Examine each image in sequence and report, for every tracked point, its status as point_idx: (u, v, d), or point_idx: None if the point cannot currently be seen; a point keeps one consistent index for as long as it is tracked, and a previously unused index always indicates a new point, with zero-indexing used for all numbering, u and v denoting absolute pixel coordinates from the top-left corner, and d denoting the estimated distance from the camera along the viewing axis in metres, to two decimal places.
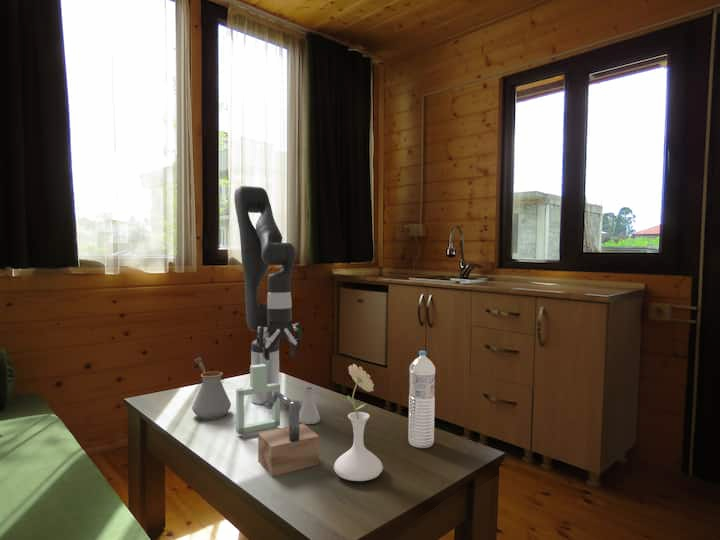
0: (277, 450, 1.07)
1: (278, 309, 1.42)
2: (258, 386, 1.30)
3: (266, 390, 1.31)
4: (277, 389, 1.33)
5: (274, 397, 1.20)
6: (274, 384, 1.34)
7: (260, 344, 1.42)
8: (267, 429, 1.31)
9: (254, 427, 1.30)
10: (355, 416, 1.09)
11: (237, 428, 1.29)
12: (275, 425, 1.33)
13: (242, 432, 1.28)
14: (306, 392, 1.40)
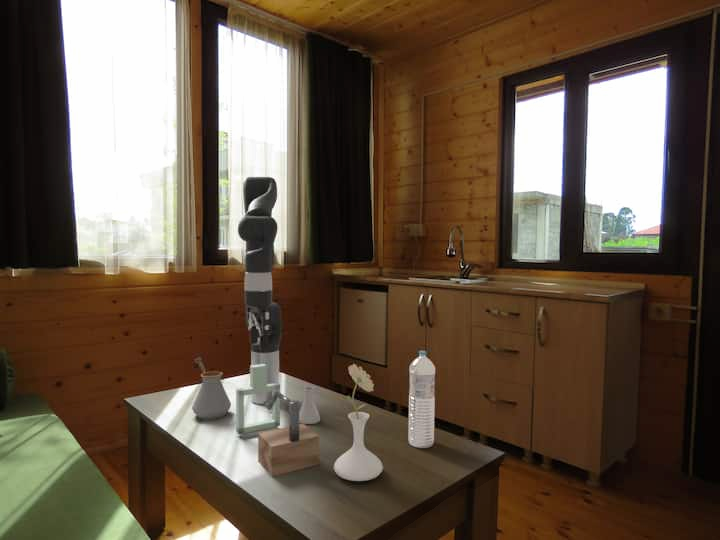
0: (277, 450, 1.07)
1: (271, 290, 1.30)
2: (258, 386, 1.30)
3: (266, 390, 1.31)
4: (277, 389, 1.33)
5: (274, 397, 1.20)
6: (274, 384, 1.34)
7: None
8: (267, 429, 1.31)
9: (254, 427, 1.30)
10: (355, 416, 1.09)
11: (237, 428, 1.29)
12: (275, 425, 1.33)
13: (242, 432, 1.28)
14: (306, 392, 1.39)
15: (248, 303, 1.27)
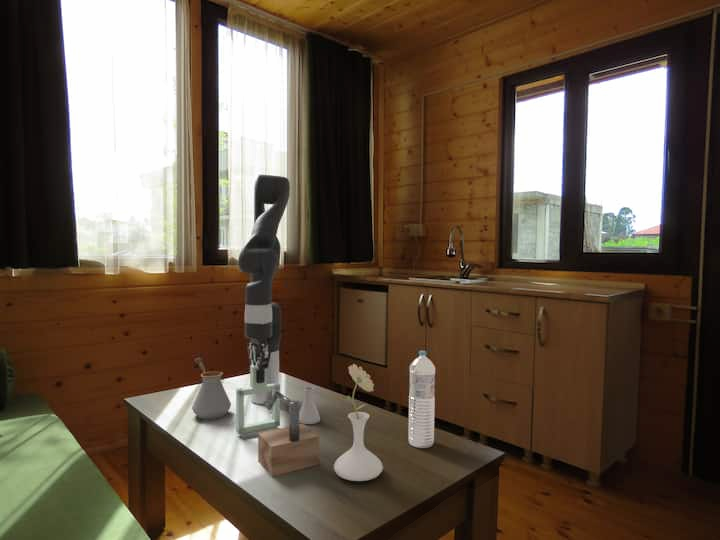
0: (277, 450, 1.07)
1: (272, 321, 1.31)
2: (258, 386, 1.30)
3: (266, 390, 1.31)
4: (277, 389, 1.33)
5: (274, 397, 1.20)
6: (274, 384, 1.34)
7: None
8: (267, 429, 1.31)
9: (254, 427, 1.30)
10: (355, 416, 1.09)
11: (237, 428, 1.29)
12: (275, 425, 1.33)
13: (242, 432, 1.28)
14: (306, 392, 1.39)
15: (248, 335, 1.27)
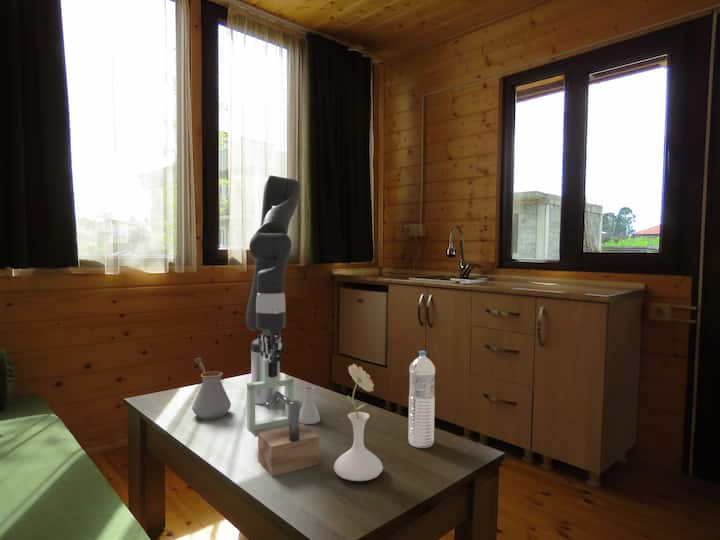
0: (277, 450, 1.07)
1: None
2: (270, 380, 1.22)
3: (279, 385, 1.23)
4: (290, 384, 1.25)
5: (274, 397, 1.20)
6: (287, 378, 1.25)
7: None
8: (280, 426, 1.23)
9: (266, 424, 1.22)
10: (355, 416, 1.09)
11: (248, 425, 1.20)
12: (288, 422, 1.25)
13: (253, 429, 1.20)
14: (306, 392, 1.39)
15: (260, 326, 1.19)
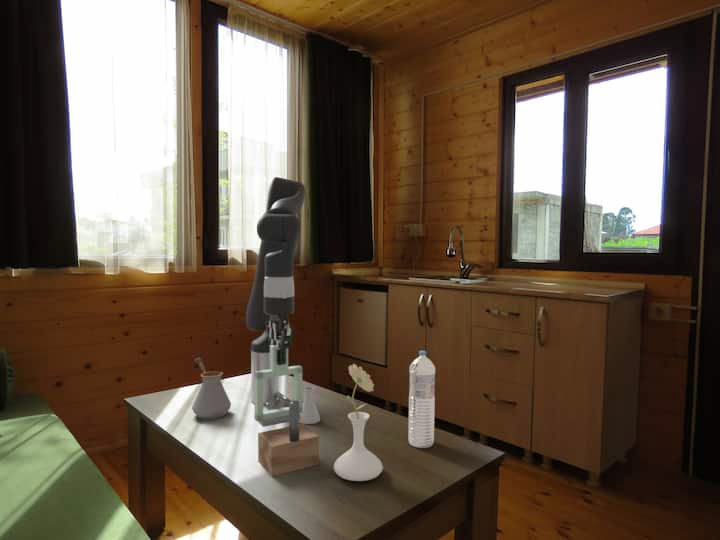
0: (277, 450, 1.07)
1: None
2: (279, 368, 1.16)
3: (287, 373, 1.18)
4: (299, 372, 1.20)
5: (274, 397, 1.20)
6: (295, 366, 1.20)
7: None
8: (288, 416, 1.18)
9: (274, 414, 1.17)
10: (355, 416, 1.09)
11: (255, 415, 1.15)
12: None
13: (261, 419, 1.15)
14: (306, 392, 1.39)
15: (268, 311, 1.14)
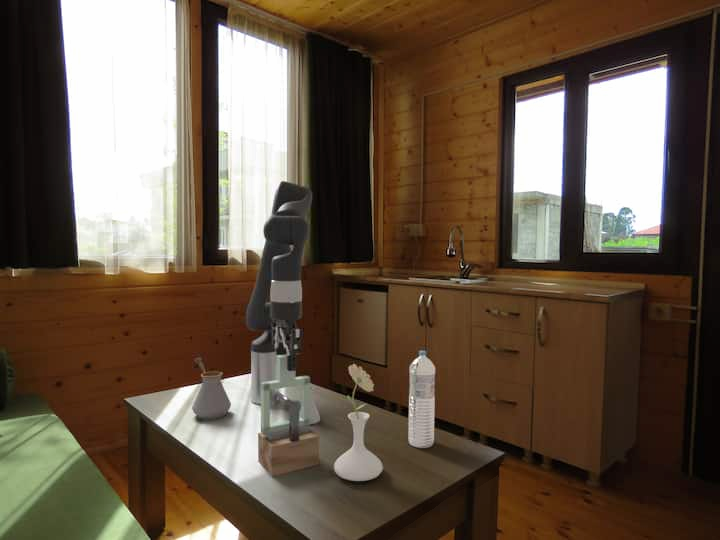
0: (277, 450, 1.07)
1: (301, 301, 1.13)
2: (286, 379, 1.13)
3: (295, 384, 1.14)
4: (307, 383, 1.16)
5: (274, 397, 1.20)
6: (303, 377, 1.16)
7: None
8: None
9: (281, 426, 1.13)
10: (355, 416, 1.09)
11: (262, 427, 1.11)
12: (304, 424, 1.16)
13: (268, 432, 1.11)
14: None
15: (275, 316, 1.10)
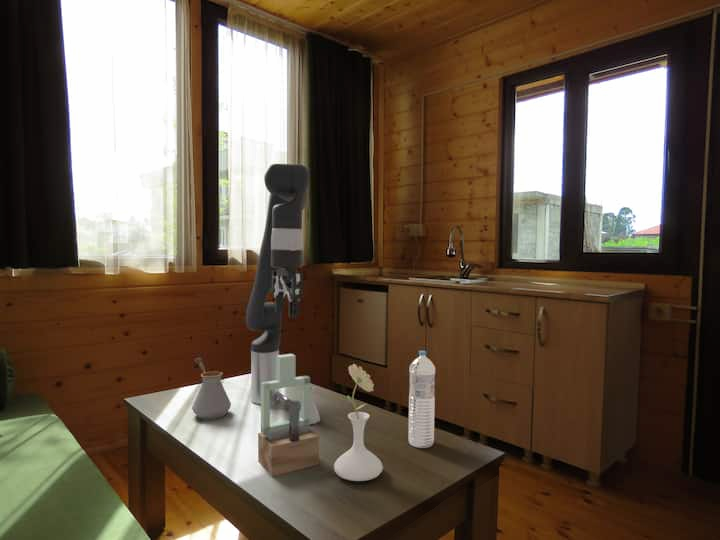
0: (277, 450, 1.07)
1: (302, 250, 1.13)
2: (286, 379, 1.13)
3: (295, 384, 1.14)
4: (307, 383, 1.16)
5: (274, 397, 1.20)
6: (303, 377, 1.16)
7: None
8: None
9: (281, 426, 1.13)
10: (355, 416, 1.09)
11: (262, 427, 1.11)
12: (304, 424, 1.16)
13: (268, 432, 1.11)
14: None
15: (275, 263, 1.10)
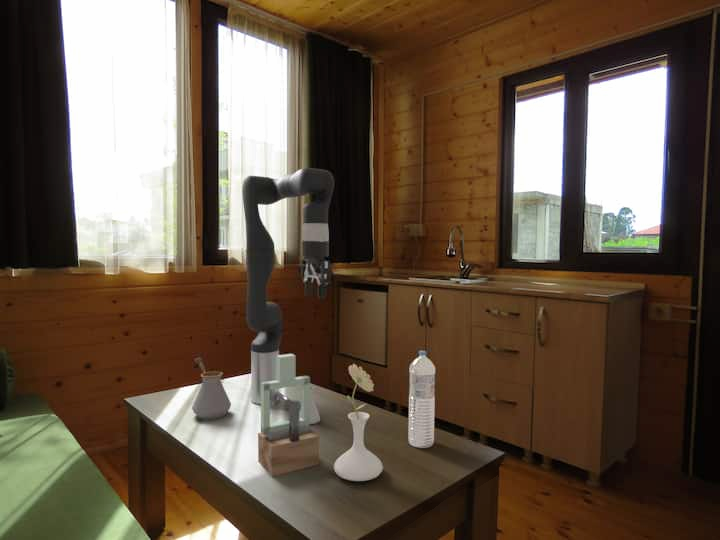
0: (277, 450, 1.07)
1: (328, 241, 1.33)
2: (286, 379, 1.13)
3: (295, 384, 1.14)
4: (307, 383, 1.16)
5: (274, 397, 1.20)
6: (303, 377, 1.16)
7: None
8: None
9: (281, 426, 1.13)
10: (355, 416, 1.09)
11: (262, 427, 1.11)
12: (304, 424, 1.16)
13: (268, 432, 1.11)
14: None
15: (306, 253, 1.30)
